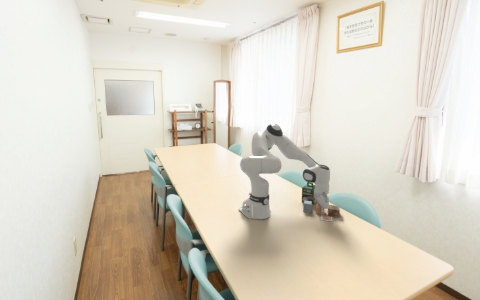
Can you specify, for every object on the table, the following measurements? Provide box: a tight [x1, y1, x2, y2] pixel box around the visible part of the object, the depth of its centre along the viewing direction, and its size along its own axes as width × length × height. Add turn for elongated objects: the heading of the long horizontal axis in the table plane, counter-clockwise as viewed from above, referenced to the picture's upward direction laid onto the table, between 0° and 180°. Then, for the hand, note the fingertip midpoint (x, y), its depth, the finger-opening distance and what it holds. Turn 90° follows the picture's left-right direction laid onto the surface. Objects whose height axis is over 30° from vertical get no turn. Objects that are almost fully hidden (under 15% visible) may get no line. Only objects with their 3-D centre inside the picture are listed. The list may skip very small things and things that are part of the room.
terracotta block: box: [315, 202, 325, 215], centre depth 175 cm, size 5×5×6 cm
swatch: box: [320, 214, 333, 223], centre depth 167 cm, size 7×6×1 cm
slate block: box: [302, 200, 313, 213], centre depth 178 cm, size 5×5×6 cm
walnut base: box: [327, 204, 341, 218], centre depth 172 cm, size 7×7×5 cm
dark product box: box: [301, 182, 317, 205], centre depth 192 cm, size 9×9×15 cm
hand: (320, 209), depth 175 cm, fingers closed on terracotta block, 6 cm apart
